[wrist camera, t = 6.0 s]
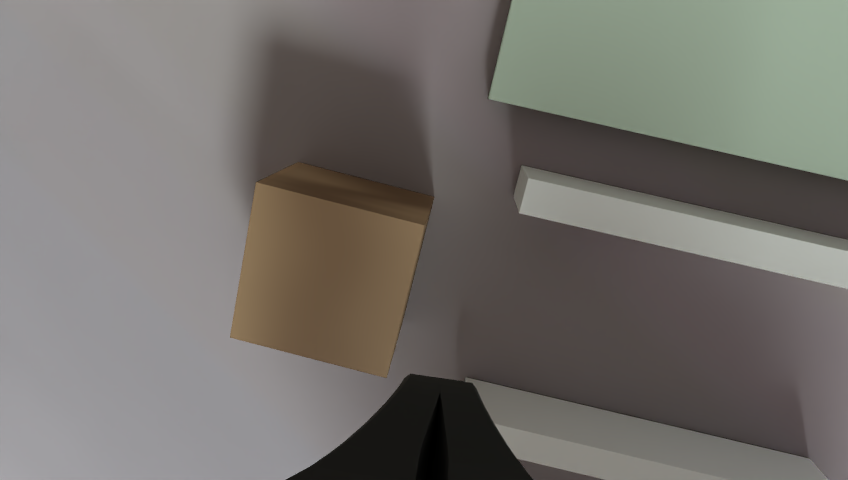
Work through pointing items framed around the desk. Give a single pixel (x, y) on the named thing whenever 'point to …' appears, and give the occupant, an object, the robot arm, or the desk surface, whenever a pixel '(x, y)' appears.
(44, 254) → the desk surface
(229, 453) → the desk surface
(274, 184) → the walnut block
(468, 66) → the desk surface
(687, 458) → the parallel rails
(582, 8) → the mat
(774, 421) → the desk surface
